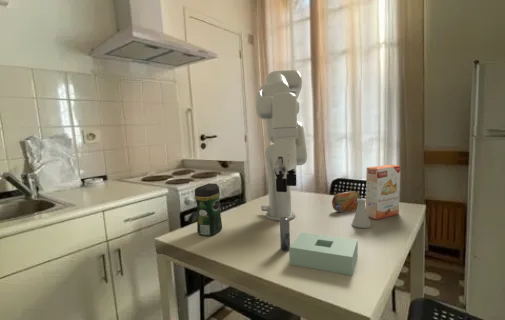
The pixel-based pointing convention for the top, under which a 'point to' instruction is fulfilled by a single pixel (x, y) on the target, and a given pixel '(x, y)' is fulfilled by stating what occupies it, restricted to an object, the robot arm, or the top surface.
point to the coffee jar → (208, 209)
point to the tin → (345, 201)
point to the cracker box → (382, 191)
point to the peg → (284, 233)
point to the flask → (361, 216)
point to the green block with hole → (324, 253)
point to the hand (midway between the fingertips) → (286, 188)
